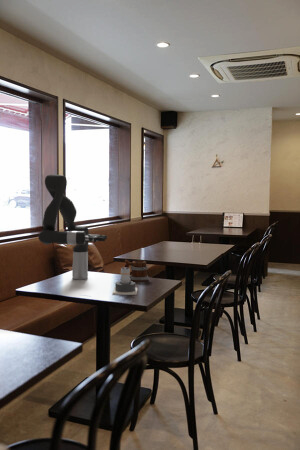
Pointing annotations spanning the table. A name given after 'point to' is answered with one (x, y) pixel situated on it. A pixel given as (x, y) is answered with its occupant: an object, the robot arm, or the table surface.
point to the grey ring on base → (125, 288)
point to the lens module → (125, 275)
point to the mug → (137, 270)
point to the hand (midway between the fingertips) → (105, 238)
